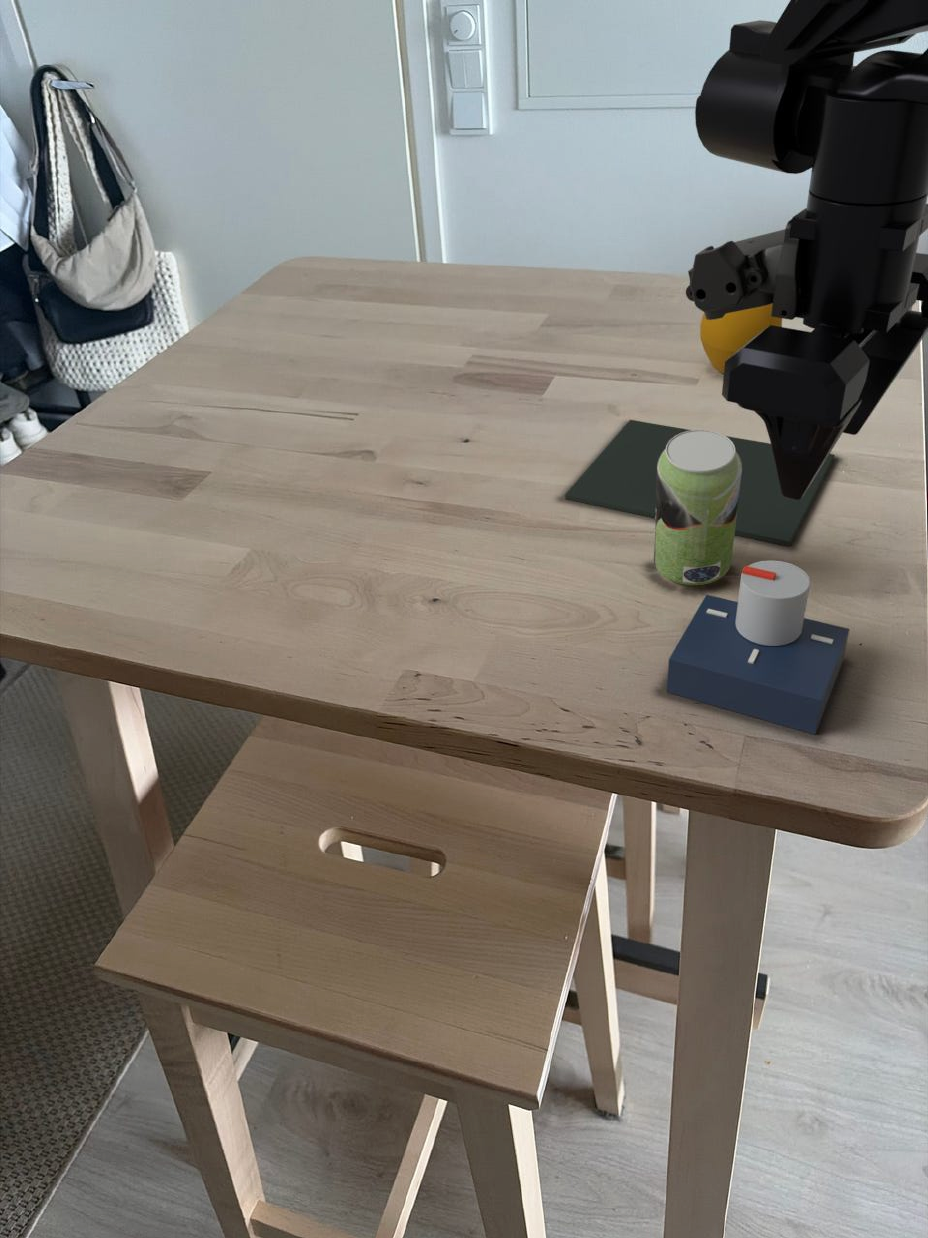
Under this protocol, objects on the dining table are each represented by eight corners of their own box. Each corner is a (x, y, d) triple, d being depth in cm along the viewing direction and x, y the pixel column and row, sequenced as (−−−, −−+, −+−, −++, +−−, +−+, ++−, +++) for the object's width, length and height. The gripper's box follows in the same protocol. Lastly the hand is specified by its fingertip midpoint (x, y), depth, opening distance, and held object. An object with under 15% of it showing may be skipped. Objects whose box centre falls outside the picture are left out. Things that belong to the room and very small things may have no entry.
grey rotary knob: (808, 616, 69) (817, 565, 66) (792, 653, 66) (801, 600, 63) (745, 601, 71) (752, 550, 68) (727, 636, 68) (733, 585, 65)
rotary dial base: (849, 643, 71) (857, 608, 69) (815, 735, 64) (822, 698, 62) (712, 609, 75) (716, 575, 73) (666, 692, 68) (668, 656, 66)
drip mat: (833, 459, 92) (834, 454, 92) (789, 546, 81) (790, 541, 81) (630, 423, 100) (630, 419, 100) (565, 499, 90) (564, 494, 89)
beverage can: (725, 549, 82) (740, 415, 74) (736, 602, 76) (753, 463, 68) (648, 549, 82) (655, 416, 75) (652, 602, 76) (660, 464, 69)
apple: (736, 394, 104) (744, 311, 99) (679, 370, 110) (684, 290, 105) (792, 371, 108) (804, 290, 102) (734, 349, 113) (742, 271, 108)
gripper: (786, 138, 60) (757, 380, 70) (637, 222, 49) (627, 498, 58) (982, 152, 55) (922, 413, 64) (865, 251, 43) (813, 551, 53)
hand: (821, 463), depth 60 cm, fingers open, 9 cm apart
